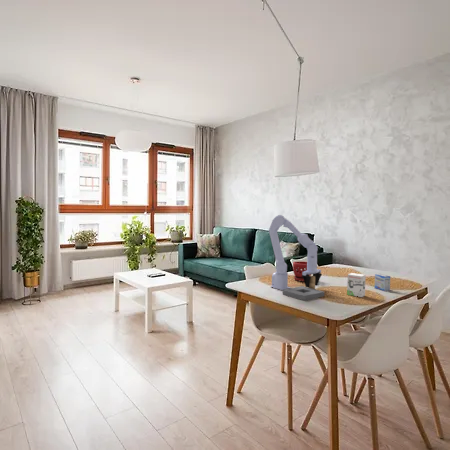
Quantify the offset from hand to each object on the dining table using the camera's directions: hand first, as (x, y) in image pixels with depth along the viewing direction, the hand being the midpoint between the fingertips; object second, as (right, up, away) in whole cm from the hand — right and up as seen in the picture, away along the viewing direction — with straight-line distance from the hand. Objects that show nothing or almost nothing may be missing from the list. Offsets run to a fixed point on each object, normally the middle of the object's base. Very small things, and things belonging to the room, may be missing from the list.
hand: (311, 286), depth 205 cm
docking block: (-8, -3, -13) cm, 15 cm away
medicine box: (+42, -2, +1) cm, 43 cm away
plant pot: (+1, -1, +27) cm, 27 cm away
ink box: (+21, -3, -13) cm, 25 cm away
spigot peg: (0, -2, 0) cm, 2 cm away
